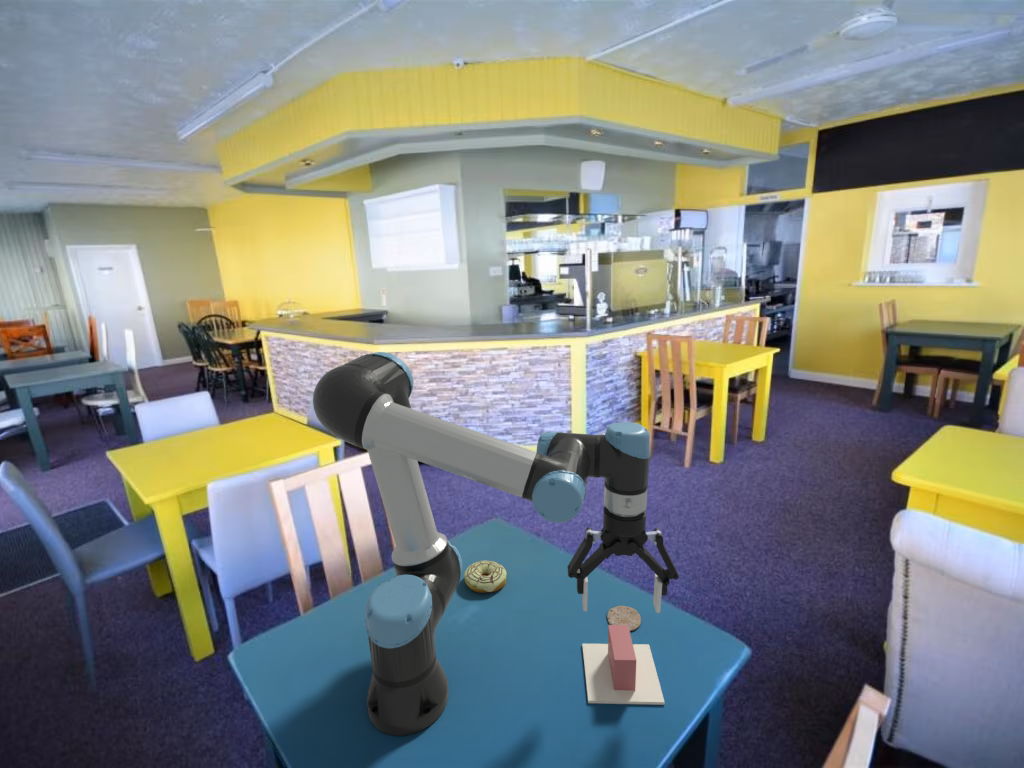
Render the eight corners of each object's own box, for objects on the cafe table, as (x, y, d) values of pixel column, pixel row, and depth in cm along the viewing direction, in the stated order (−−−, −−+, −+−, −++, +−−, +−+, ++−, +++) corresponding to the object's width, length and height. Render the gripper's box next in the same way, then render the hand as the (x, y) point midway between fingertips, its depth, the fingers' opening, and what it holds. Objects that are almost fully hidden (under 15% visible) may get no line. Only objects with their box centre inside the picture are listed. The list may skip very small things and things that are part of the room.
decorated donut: (495, 601, 122) (494, 587, 121) (457, 590, 127) (456, 577, 126) (513, 575, 132) (512, 563, 130) (477, 566, 136) (476, 554, 135)
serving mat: (588, 703, 94) (588, 700, 94) (582, 645, 107) (582, 643, 107) (664, 704, 93) (664, 702, 93) (648, 646, 106) (649, 644, 106)
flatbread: (610, 605, 119) (610, 601, 119) (643, 612, 117) (643, 608, 117) (603, 629, 112) (603, 625, 112) (638, 637, 110) (638, 633, 109)
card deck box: (607, 653, 104) (608, 624, 103) (627, 653, 104) (628, 625, 102) (614, 690, 96) (614, 659, 94) (635, 690, 96) (636, 660, 94)
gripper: (556, 517, 88) (555, 619, 93) (701, 519, 86) (692, 623, 92) (554, 496, 95) (554, 592, 101) (689, 498, 93) (681, 595, 99)
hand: (620, 607), depth 96 cm, fingers open, 13 cm apart
